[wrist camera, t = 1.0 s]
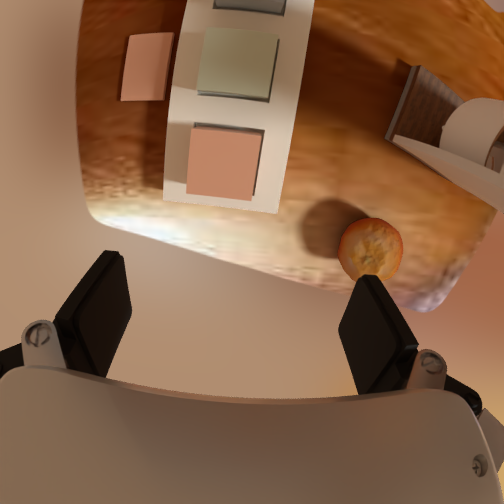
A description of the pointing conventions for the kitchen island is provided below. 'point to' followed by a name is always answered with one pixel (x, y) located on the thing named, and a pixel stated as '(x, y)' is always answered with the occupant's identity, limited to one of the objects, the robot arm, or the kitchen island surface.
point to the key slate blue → (253, 4)
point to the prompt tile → (147, 66)
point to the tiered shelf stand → (452, 135)
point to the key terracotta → (222, 162)
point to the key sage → (237, 62)
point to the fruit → (370, 249)
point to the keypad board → (237, 99)
